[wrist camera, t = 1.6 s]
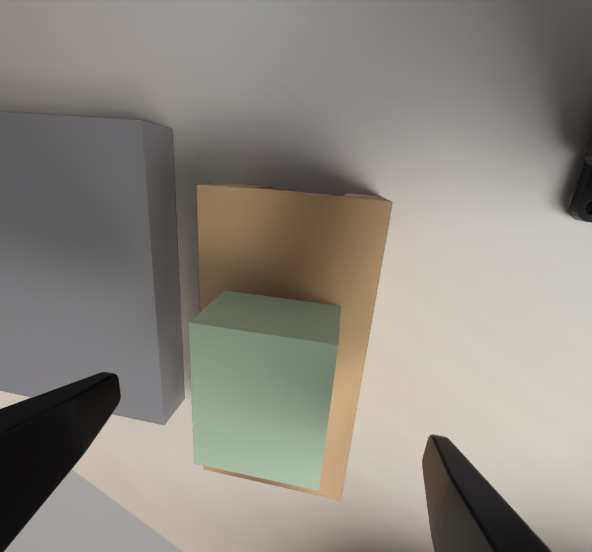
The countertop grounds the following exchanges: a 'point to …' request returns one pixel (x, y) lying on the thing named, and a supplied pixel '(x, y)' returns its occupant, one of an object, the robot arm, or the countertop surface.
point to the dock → (90, 259)
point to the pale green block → (263, 385)
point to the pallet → (300, 278)
